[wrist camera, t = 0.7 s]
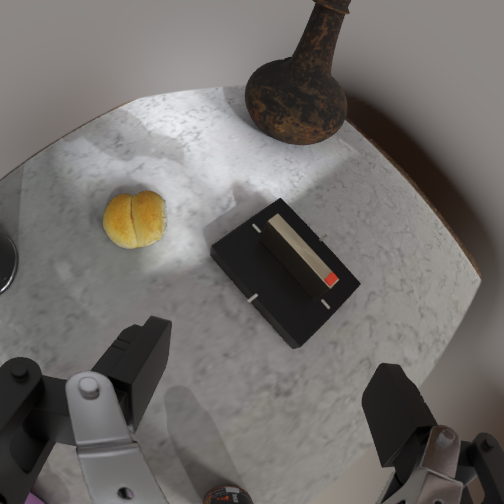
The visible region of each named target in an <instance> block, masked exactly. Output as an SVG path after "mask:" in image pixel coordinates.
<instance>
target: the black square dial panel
mask: <svg viewBox="0 0 504 504" xmlns="http://www.w3.org/2000/svg"><path fill="white" fill-rule="evenodd" d="M277 214H279V215H280V216H281V217H282V218H283V219H284V220H285V221H286V223H287V224H288V225H289V226H290V227H291V228H292V229H293V230H294V231H295V232H296V233H297V234H298V235H299V236H300V237H301V238H302V239H303V241H304V242H305V243H306V244H307V245H308V246H309V247H310V248H311V249H312V250H313V251H314V252H315V253H316V255H317V256H318V257H319V258H320V259H321V260H322V261H323V262H324V263H325V264H326V265H327V267H328V268H329V269H330V270H331V271H332V272H333V273H334V274H335V275H336V276H337V277H338V279H339V280H338V281H337V282H336V284H335V285H334V286H333V287H332V288H331V289H329V290H328V291H326V292H325V293H323V294H322V295H320V296H319V297H317V298H316V299H314V300H313V298H312V297H311V296H310V295H309V294H308V293H307V292H306V291H305V290H304V288H303V287H302V286H301V285H300V284H299V283H298V282H297V281H296V280H295V279H294V277H293V276H292V275H291V274H290V273H289V272H288V271H287V270H286V269H285V267H284V266H283V265H282V264H281V263H280V262H279V261H278V260H277V259H276V258H275V256H274V255H273V254H272V253H271V252H270V251H269V250H268V249H267V248H266V247H265V246H264V244H263V243H262V242H261V241H260V238H261V235H262V233H263V231H264V229H265V227H266V224H267V222H268V220H270V219H271V218H273V217H274V216H275V215H277ZM326 237H327V235H326V234H325V235H324V236H322V237H321V238H319V237H318V236H317V235H316V234H315V233H314V232H313V231H312V230H311V229H310V228H309V227H308V226H307V224H306V223H305V222H304V221H303V220H302V219H301V218H300V217H299V216H298V215H297V214H296V213H295V212H294V211H293V210H292V209H291V208H290V207H289V206H288V205H287V204H286V203H285V202H284V201H283V200H282V199H281V198H279V199H278V200H276V201H275V202H273V203H272V204H270V205H269V206H268V207H266V208H265V209H263V210H262V211H260V212H259V213H257V214H256V215H255V216H253V217H252V218H250V219H249V220H247V221H246V222H245V223H243V224H242V225H240V226H239V227H237V228H236V229H235V230H233V231H232V232H230V233H229V234H228V235H226V236H225V237H223V238H222V239H220V240H219V241H218V242H216V243H215V244H213V245H212V246H211V254H210V255H211V257H212V258H213V259H214V260H215V261H216V263H217V264H218V265H219V266H220V267H221V268H222V270H223V271H224V272H225V273H226V274H227V275H228V277H229V278H230V279H231V280H232V281H233V282H234V284H235V285H236V286H237V287H238V288H239V289H240V290H241V292H242V293H243V294H244V295H245V296H246V297H247V298H248V300H247V302H248V303H250V302H251V303H252V304H253V305H254V306H255V308H256V309H257V310H258V311H259V312H260V313H261V314H262V315H263V317H264V318H265V319H266V320H267V321H268V322H269V323H270V324H271V326H272V327H273V328H274V329H275V330H276V331H277V332H278V333H279V334H280V336H281V337H282V338H283V339H284V340H285V341H286V342H287V343H288V344H289V345H290V347H291V348H292V349H295V348H299V347H301V346H302V345H303V344H304V343H305V342H306V341H307V340H308V339H309V338H310V337H311V336H312V335H313V334H314V333H315V332H316V331H317V330H318V329H319V328H320V327H321V326H322V325H323V324H324V323H325V322H326V321H327V320H328V319H329V318H330V317H331V316H332V315H333V314H334V313H335V312H336V311H337V310H338V309H339V307H340V306H341V305H342V304H343V303H344V302H345V301H346V300H347V299H348V298H349V297H350V296H351V294H352V293H353V292H354V291H355V290H356V289H357V288H358V287H359V286H360V284H361V283H360V282H359V281H358V280H357V279H356V278H355V277H354V275H353V274H352V273H351V272H350V271H349V270H348V269H347V268H346V267H345V265H344V264H343V263H342V262H341V261H340V260H339V259H338V258H337V257H336V255H335V254H334V253H333V252H332V251H331V250H330V249H329V248H328V247H327V246H326V245H325V244H324V242H323V241H322V240H323V239H324V238H326Z"/></svg>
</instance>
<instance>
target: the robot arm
mask: <svg viewBox="0 0 504 504" xmlns="http://www.w3.org/2000/svg"><path fill="white" fill-rule="evenodd" d="M17 267H18V252H17V249H16V247H15V245H14V243H13V242H12V241H11V240H10V239H8V238H6V237H5V236H4V235H3V234H2V233H1V232H0V295H1V294H3V293H4V292H5V291H6V290H7V289H8V288H9V287H10V285H11V283H12V282H13V280H14V278H15V275H16V272H17ZM171 328H172V322H171V321H170V320H166V319H163V318H159V317H156V316H150V317H149V319H148V320H147V321H146V323H145V324H144V326H143V327H142V326H139V325H136V324H134V325H132V326H130V327H128V328H126V329H124V330H123V331H122V332H121V333H120V335H119V336H118V337H117V340H115V341H114V342H113V343H112V345H111V346H110V347H109V348H108V349H107V351H106V352H105V353H104V354H103V356H102V357H101V358H100V359H99V361H98V362H97V363H96V365H95V366H94V367H93V368H92V370H91V371H83V372H78V373H76V374H74V375H72V376H71V377H70V378H69V379H68V380H63V379H58V378H53V377H48V376H44V375H42V373H41V369H40V367H39V365H38V364H37V363H36V362H35V361H33V360H31V359H29V358H24V357H17V358H13V359H10V360H8V361H7V362H5V363H4V364H3V365H2V366H1V367H0V504H25V501H26V499H27V497H28V495H29V493H30V491H31V489H32V487H33V485H34V483H35V481H36V479H37V477H38V475H39V473H40V471H41V469H42V467H43V465H44V463H45V462H46V460H47V458H48V456H49V454H50V452H51V450H52V449H53V447H54V445H55V443H56V442H58V443H63V444H68V445H73V446H77V448H76V452H77V457H78V460H79V464H80V467H81V471H82V474H83V477H84V481H85V484H86V487H87V490H88V492H89V495H90V498H91V501H92V503H93V504H169V502H168V501H167V499H166V497H165V495H164V493H163V492H162V490H161V488H160V486H159V484H158V482H157V480H156V479H155V477H154V475H153V473H152V471H151V469H150V467H149V465H148V462H147V460H146V458H145V456H144V454H143V452H142V450H141V448H140V446H139V444H138V443H137V441H134V440H133V439H132V437H131V434H130V432H132V433H134V434H135V432H136V430H137V428H138V426H139V423H140V421H141V419H142V417H143V415H144V413H145V410H146V408H147V406H148V404H149V402H150V400H151V398H152V396H153V393H154V391H155V389H156V387H157V385H158V383H159V381H160V379H161V377H162V374H163V372H164V370H165V368H166V365H167V361H168V356H169V346H170V337H171ZM362 407H363V410H364V413H365V416H366V419H367V422H368V425H369V428H370V431H371V434H372V437H373V441H374V444H375V447H376V450H377V453H378V456H379V460H380V463H381V466H382V468H383V467H395V470H394V471H393V472H392V473H391V475H390V477H389V479H388V481H387V483H386V485H385V487H384V489H383V490H382V493H381V494H380V496H379V498H378V500H377V502H376V504H473V501H472V498H471V496H470V493H469V490H468V488H467V485H468V484H469V483H470V482H471V481H472V480H473V479H474V478H475V477H477V476H478V478H479V480H480V482H481V485H482V487H483V490H484V492H485V498H484V500H483V502H482V503H481V504H504V452H503V450H502V448H501V446H500V445H499V443H498V441H497V440H496V439H495V438H494V437H493V436H492V435H490V434H488V433H479V434H478V435H477V436H476V437H475V438H474V440H473V441H472V442H467V441H460V438H459V436H458V435H457V433H456V432H455V431H454V430H453V429H451V428H450V427H447V426H444V425H438V424H437V422H436V420H435V419H434V417H433V415H432V413H431V411H430V410H429V408H428V406H427V404H426V403H424V399H423V397H422V396H421V395H420V392H419V390H418V388H417V387H416V385H415V384H414V383H413V382H412V381H411V380H410V379H409V378H408V377H407V376H406V375H405V373H404V371H403V369H402V368H401V366H400V365H398V364H389V363H381V364H380V365H379V366H378V368H377V369H376V371H375V373H374V375H373V377H372V378H371V380H370V382H369V384H368V385H367V387H366V389H365V391H364V393H363V396H362ZM209 504H246V503H238V502H231V501H225V500H219V499H214V498H211V500H210V503H209Z"/></svg>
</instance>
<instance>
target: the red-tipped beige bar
mask: <svg viewBox="0 0 504 504" xmlns="http://www.w3.org/2000/svg"><path fill="white" fill-rule="evenodd" d="M260 241H261V242H262V243H263V244H264V246H265V247H266V248H267V249H268V250H269V251H270V252H271V253H272V254H273V255H274V256H275V258H276V259H277V260H278V261H279V262H280V263H281V264H282V265H283V266H284V267H285V269H286V270H287V271H288V272H289V273H290V274H291V275H292V276H293V277H294V279H295V280H296V281H297V282H298V283H299V284H300V285H301V286H302V287H303V288H304V290H305V291H306V292H307V293H308V294H309V295H310V296H311V297H312V298H313V300H314V299H316V298H317V297H319V296H320V295H322V294H323V293H325V292H326V291H328V290H329V289H331V288H332V287H333V286H334V285H335V284H336V282H337V281H338V280H339V279H338V277H337V276H336V275H335V274H334V273H333V272H332V271H331V270H330V269H329V268H328V267H327V265H326V264H325V263H324V262H323V261H322V260H321V259H320V258H319V257H318V256H317V255H316V253H315V252H314V251H313V250H312V249H311V248H310V247H309V246H308V245H307V244H306V243H305V242H304V241H303V239H302V238H301V237H300V236H299V235H298V234H297V233H296V232H295V231H294V230H293V229H292V228H291V227H290V226H289V225H288V224H287V223H286V221H285V220H284V219H283V218H282V217H281V216H280V215H279V214H277V215H275V216H274V217H273V218H271V219H270V220H268V222H267V224H266V227H265V229H264V231H263V233H262V235H261V238H260Z"/></svg>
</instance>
